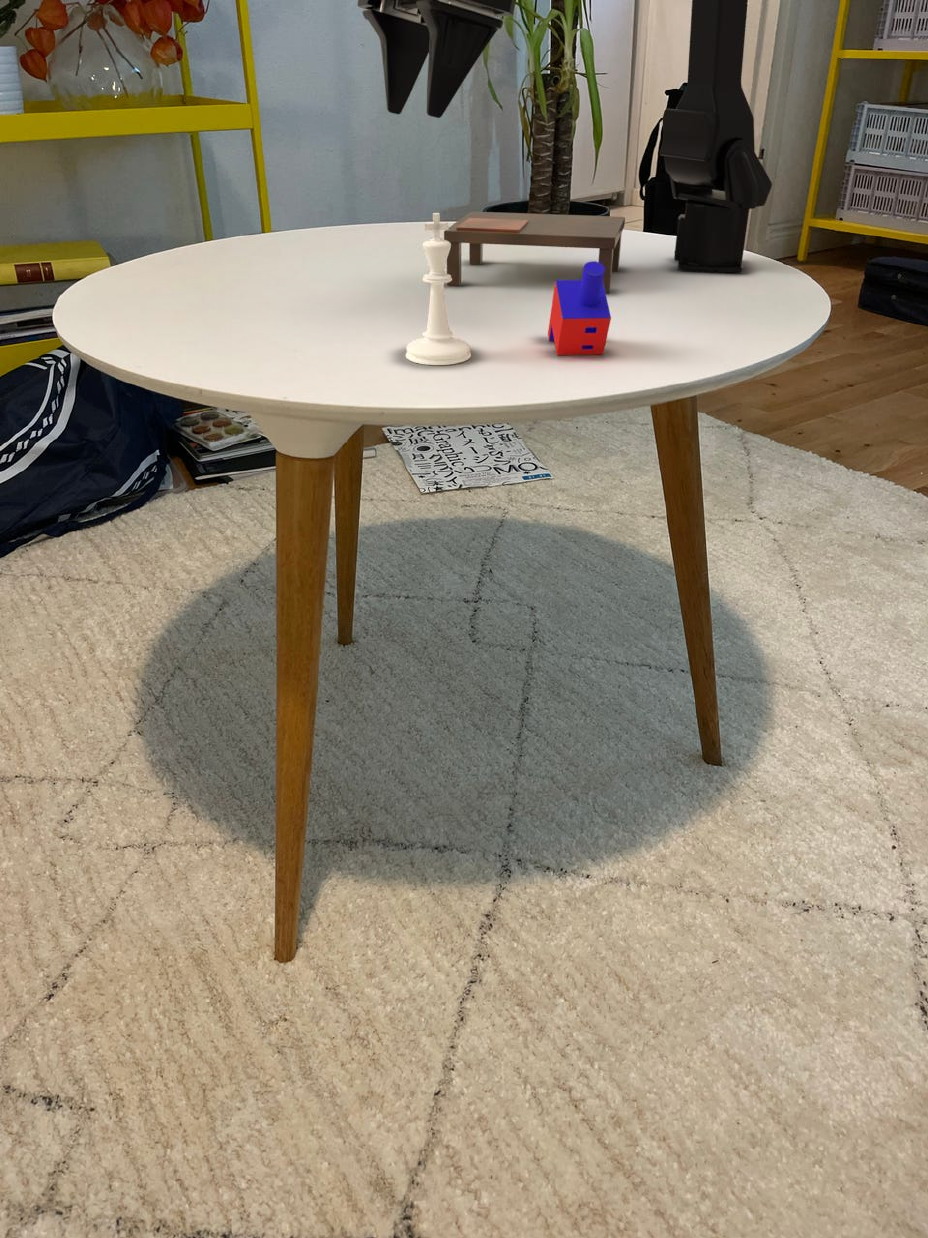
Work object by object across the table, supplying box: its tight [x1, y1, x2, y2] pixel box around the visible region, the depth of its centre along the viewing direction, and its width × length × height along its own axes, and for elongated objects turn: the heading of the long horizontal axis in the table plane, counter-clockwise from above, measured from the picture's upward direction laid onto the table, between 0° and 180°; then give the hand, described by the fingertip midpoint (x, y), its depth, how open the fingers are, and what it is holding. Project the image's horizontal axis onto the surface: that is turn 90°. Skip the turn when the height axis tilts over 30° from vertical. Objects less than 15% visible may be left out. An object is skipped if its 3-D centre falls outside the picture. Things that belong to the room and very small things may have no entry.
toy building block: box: [547, 260, 612, 356], centre depth 72 cm, size 4×4×8 cm
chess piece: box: [405, 212, 472, 366], centre depth 70 cm, size 5×5×10 cm
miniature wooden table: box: [443, 211, 626, 295], centre depth 95 cm, size 16×12×5 cm
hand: (412, 114), depth 77 cm, fingers open, 9 cm apart
